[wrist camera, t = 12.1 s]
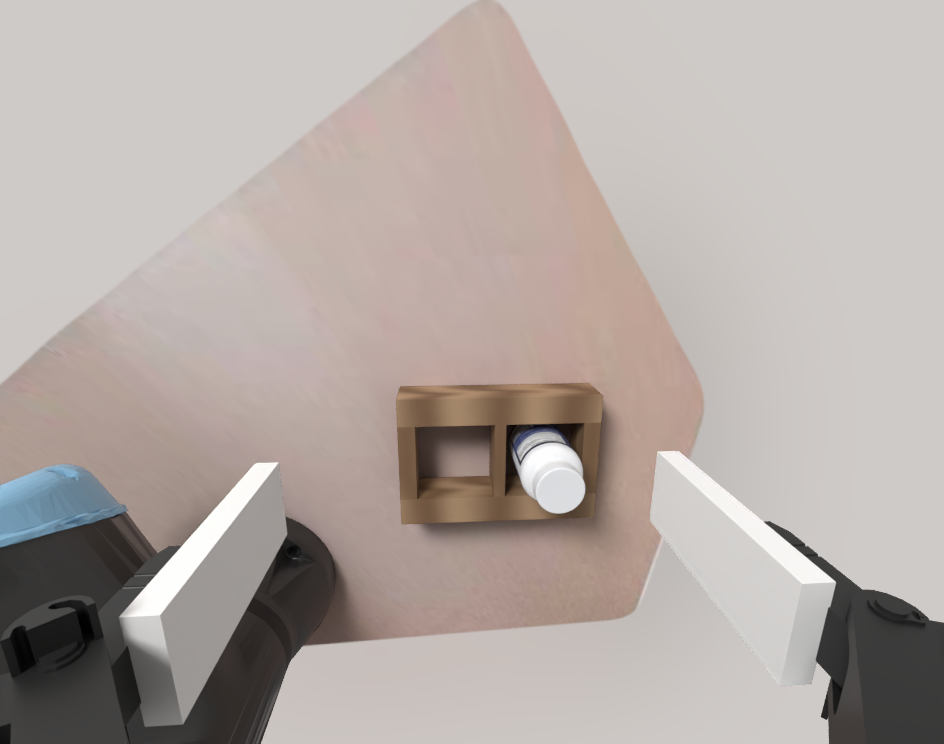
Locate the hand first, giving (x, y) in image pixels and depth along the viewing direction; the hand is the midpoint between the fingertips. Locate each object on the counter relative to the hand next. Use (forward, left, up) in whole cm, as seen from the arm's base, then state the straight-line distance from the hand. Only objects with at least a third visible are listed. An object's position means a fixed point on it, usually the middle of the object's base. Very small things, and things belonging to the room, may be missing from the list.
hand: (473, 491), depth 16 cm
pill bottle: (+8, -10, -27) cm, 30 cm away
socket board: (+4, -10, -27) cm, 29 cm away
